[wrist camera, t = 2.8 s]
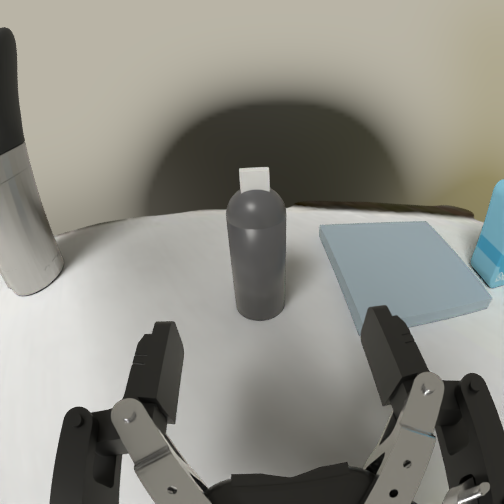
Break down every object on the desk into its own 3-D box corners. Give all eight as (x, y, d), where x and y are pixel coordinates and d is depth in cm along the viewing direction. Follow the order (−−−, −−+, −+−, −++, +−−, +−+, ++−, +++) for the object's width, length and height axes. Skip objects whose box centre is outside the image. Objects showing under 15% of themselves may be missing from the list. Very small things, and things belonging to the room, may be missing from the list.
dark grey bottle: (236, 322, 24) (219, 182, 17) (236, 288, 28) (223, 162, 21) (287, 318, 24) (291, 178, 17) (281, 285, 28) (281, 159, 21)
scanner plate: (359, 335, 22) (363, 324, 21) (319, 235, 35) (319, 225, 35) (486, 308, 22) (492, 297, 21) (423, 230, 35) (426, 221, 35)
